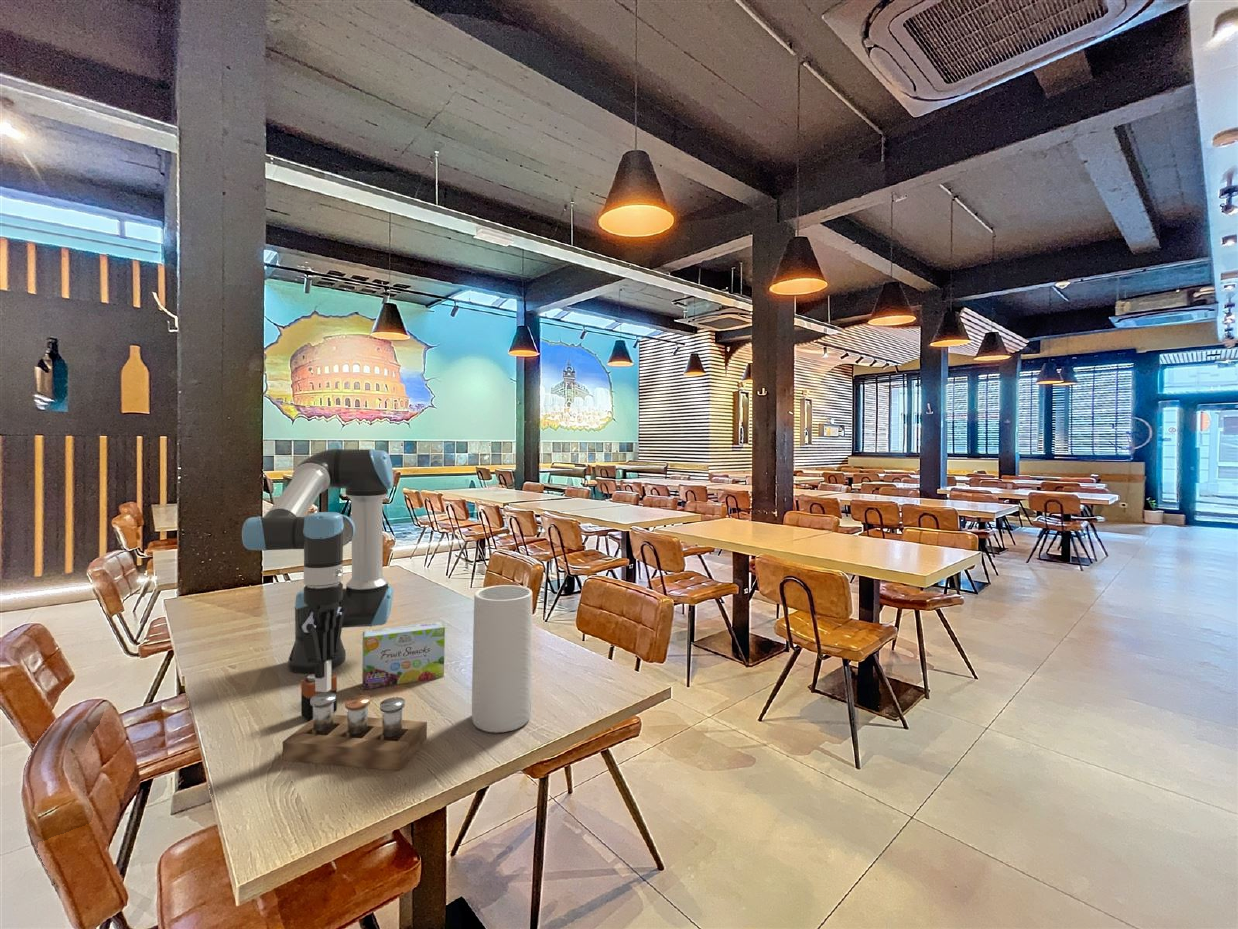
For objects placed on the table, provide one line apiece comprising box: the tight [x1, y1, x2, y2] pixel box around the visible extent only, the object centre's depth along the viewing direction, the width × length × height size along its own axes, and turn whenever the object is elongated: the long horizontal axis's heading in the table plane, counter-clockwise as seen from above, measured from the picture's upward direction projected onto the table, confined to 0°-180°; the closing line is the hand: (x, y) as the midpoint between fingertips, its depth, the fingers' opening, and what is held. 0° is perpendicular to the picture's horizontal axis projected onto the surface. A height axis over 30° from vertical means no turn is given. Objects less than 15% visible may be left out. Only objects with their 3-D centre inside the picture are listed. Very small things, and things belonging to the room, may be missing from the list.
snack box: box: [361, 621, 446, 691], centre depth 153 cm, size 21×6×15 cm, turn 117°
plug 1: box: [310, 692, 336, 731], centre depth 120 cm, size 5×5×6 cm
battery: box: [300, 672, 338, 722], centre depth 134 cm, size 4×7×10 cm, turn 142°
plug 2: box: [379, 696, 406, 737], centre depth 118 cm, size 5×5×6 cm
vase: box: [471, 584, 533, 734], centre depth 133 cm, size 14×14×32 cm
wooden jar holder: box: [282, 714, 428, 772], centre depth 119 cm, size 26×12×4 cm, turn 84°
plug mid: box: [344, 694, 371, 734], centre depth 119 cm, size 5×5×6 cm
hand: (323, 690), depth 119 cm, fingers closed
